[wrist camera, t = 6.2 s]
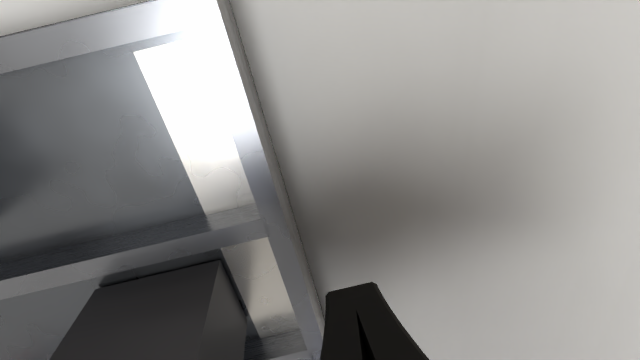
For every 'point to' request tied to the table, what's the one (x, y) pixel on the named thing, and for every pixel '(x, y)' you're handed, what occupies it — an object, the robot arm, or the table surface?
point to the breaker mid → (160, 319)
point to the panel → (142, 175)
